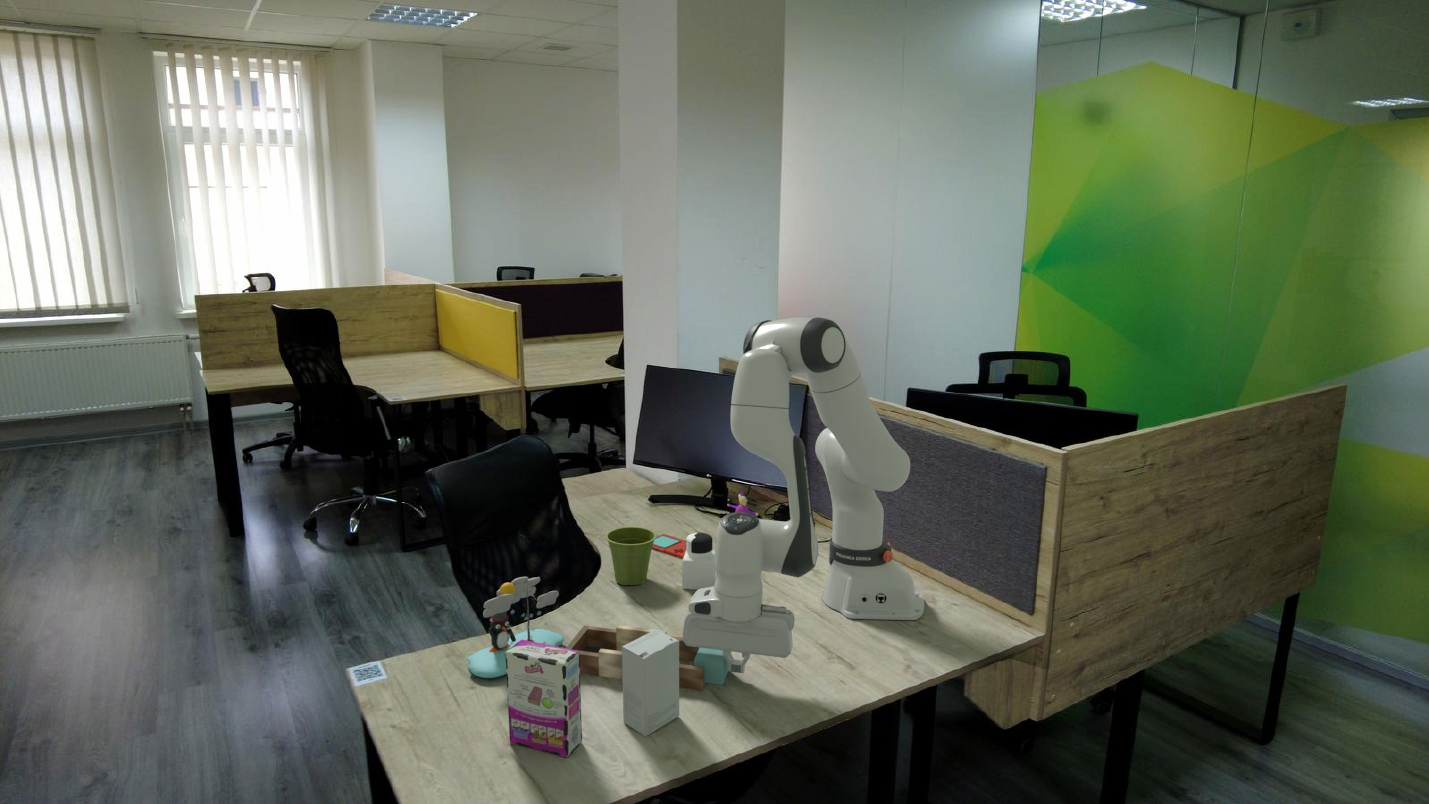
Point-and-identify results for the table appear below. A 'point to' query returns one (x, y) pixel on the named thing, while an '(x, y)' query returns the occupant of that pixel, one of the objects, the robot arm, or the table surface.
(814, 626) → the table surface
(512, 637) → the penguin figurine
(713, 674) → the teal block
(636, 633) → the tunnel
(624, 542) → the plant pot
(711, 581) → the medicine bottle
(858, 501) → the robot arm
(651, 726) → the skincare box
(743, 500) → the wizard figurine
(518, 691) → the candy bar box
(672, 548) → the handheld gaming console
